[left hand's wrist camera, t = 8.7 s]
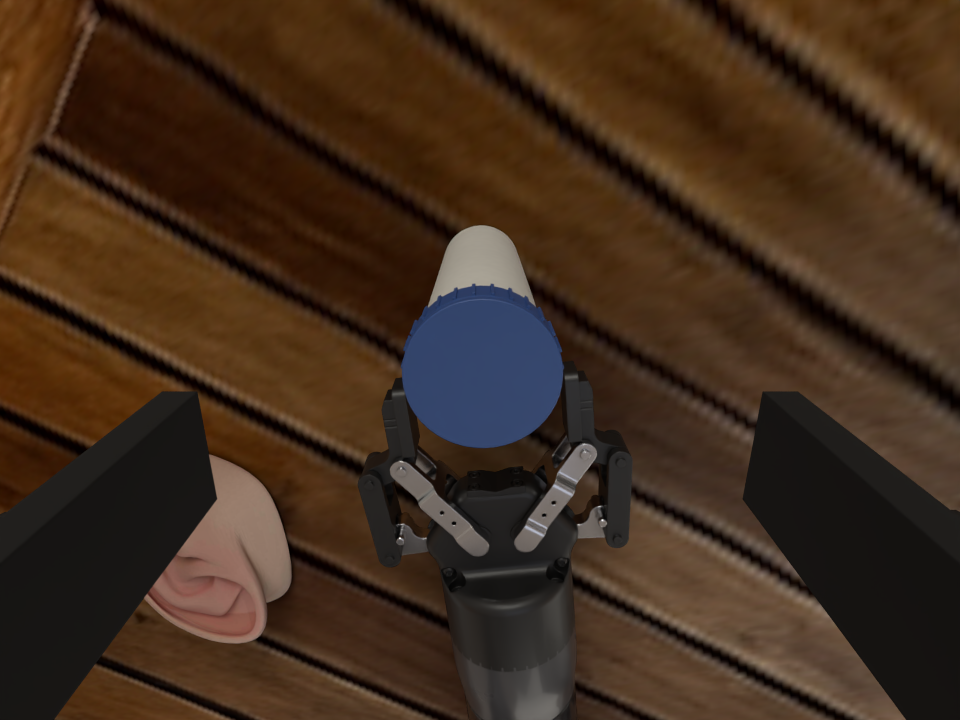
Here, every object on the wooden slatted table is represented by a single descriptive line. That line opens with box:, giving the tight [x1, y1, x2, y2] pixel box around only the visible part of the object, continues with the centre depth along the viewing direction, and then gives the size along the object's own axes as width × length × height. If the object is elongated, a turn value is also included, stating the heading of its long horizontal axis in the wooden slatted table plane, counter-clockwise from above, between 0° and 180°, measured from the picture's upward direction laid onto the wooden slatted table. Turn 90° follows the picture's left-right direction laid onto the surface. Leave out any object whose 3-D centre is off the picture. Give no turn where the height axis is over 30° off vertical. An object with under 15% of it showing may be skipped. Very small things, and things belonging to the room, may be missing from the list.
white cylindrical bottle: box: [428, 226, 536, 307], centre depth 25 cm, size 4×4×17 cm
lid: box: [401, 283, 564, 448], centre depth 18 cm, size 5×5×2 cm
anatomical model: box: [144, 454, 292, 643], centre depth 38 cm, size 13×4×12 cm
